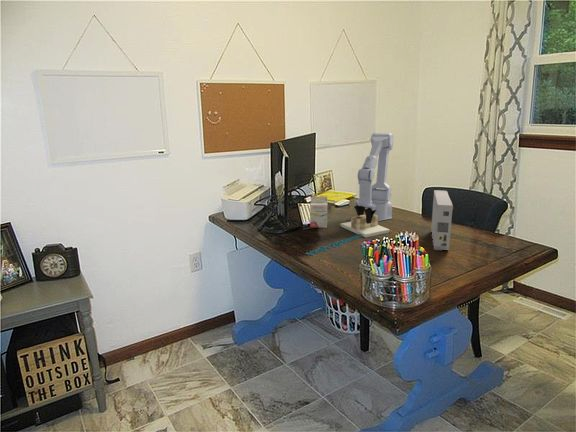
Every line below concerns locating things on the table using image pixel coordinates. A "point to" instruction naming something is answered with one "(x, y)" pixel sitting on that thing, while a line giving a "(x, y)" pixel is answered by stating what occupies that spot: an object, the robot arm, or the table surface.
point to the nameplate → (333, 245)
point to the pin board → (366, 230)
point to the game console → (441, 220)
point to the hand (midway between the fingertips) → (364, 221)
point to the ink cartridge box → (318, 212)
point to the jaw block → (363, 222)
